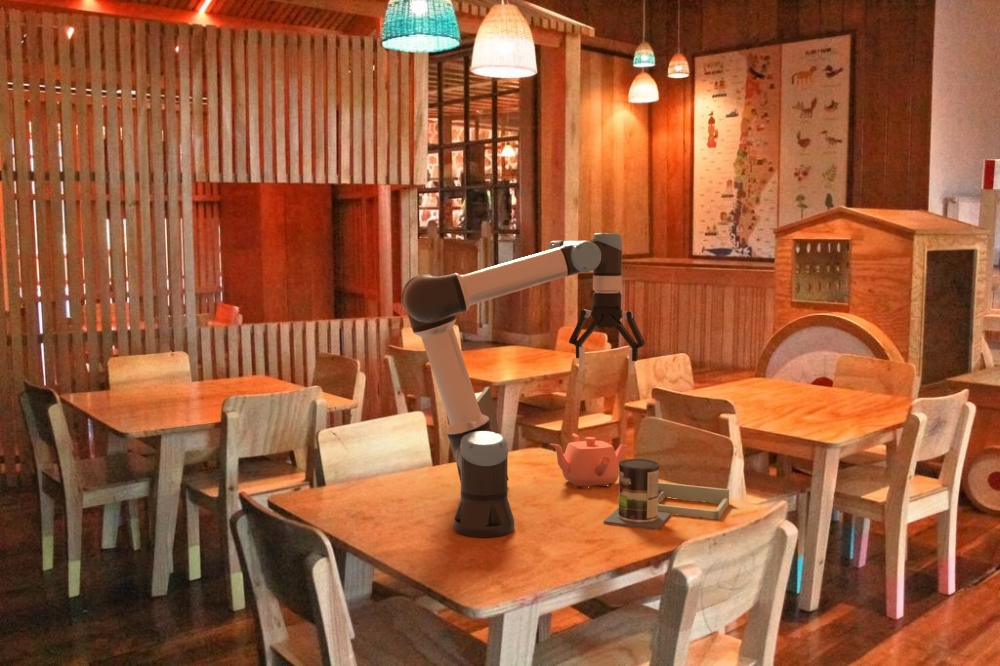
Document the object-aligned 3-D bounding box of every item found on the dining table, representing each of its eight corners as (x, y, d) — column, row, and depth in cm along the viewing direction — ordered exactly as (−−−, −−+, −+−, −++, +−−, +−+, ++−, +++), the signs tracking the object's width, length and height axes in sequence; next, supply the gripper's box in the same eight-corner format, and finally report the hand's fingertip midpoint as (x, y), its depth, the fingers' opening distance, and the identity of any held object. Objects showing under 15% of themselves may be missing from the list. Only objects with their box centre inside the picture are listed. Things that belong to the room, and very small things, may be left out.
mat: (657, 530, 236) (657, 527, 236) (603, 523, 242) (603, 521, 242) (670, 515, 249) (670, 512, 249) (619, 509, 255) (619, 506, 255)
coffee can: (628, 524, 239) (629, 469, 238) (611, 513, 249) (612, 460, 247) (665, 520, 242) (666, 466, 241) (647, 509, 252) (648, 457, 250)
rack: (717, 519, 245) (718, 499, 245) (620, 508, 256) (620, 489, 255) (729, 503, 260) (729, 485, 259) (636, 493, 270) (636, 475, 270)
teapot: (548, 487, 277) (549, 440, 276) (572, 473, 293) (572, 429, 292) (608, 495, 269) (608, 446, 268) (629, 480, 285) (629, 434, 284)
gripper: (657, 292, 249) (656, 372, 251) (567, 290, 259) (566, 367, 261) (650, 293, 242) (648, 376, 244) (557, 291, 252) (557, 371, 254)
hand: (606, 372), depth 253 cm, fingers open, 13 cm apart
